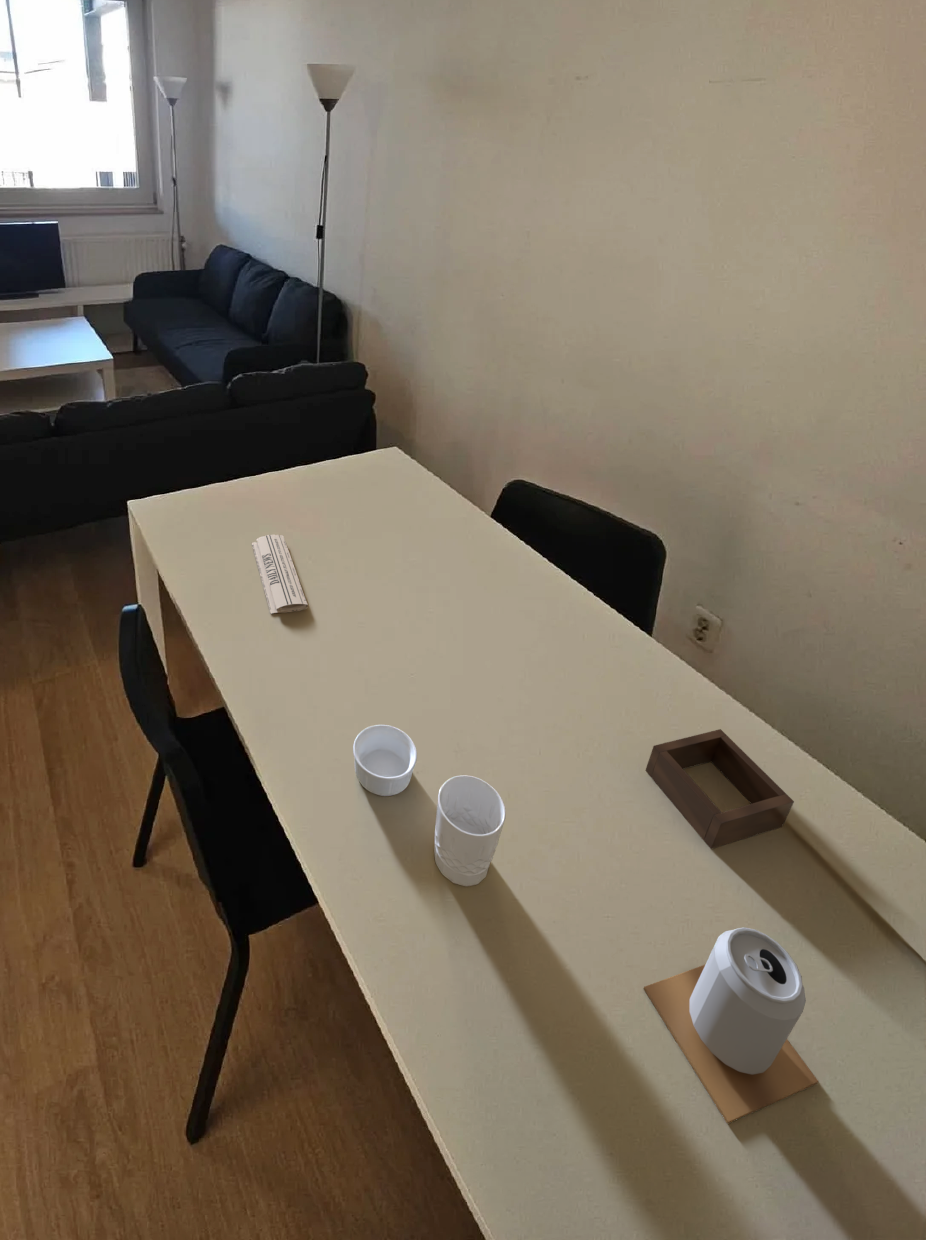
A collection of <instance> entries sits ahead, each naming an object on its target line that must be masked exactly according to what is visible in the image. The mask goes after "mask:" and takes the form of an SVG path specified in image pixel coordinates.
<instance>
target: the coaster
mask: <svg viewBox="0 0 926 1240" xmlns="http://www.w3.org/2000/svg"><path fill="white" fill-rule="evenodd" d="M705 965H706V963H705V964H702V965H700V966H697V967H695V968H691V969H689V970H686V971H683V972H680V973H678V974H675V975H672V976H670V977H667V978H665V979H662V980H659V981H656V982H654V983H651V984H648V985H645V986H643V988H642V989H643V991H644V993H645V994H646V996H647V997H648V998H649V1000H650V1002H651V1004H652V1005H653V1007H654V1008H655V1011H657V1013H658V1015H659V1016H660V1018H661V1020H662V1021H663V1023H664V1025H665V1026H666V1028H667V1029H668V1031H669V1033H670V1034H671V1036H672V1037H673V1039H674V1040H675V1042H676V1044H677V1046H678V1047H679V1048H680V1050H681V1052H682V1054H683V1055H684V1056H685V1058H686V1060H687V1062H688V1063H689V1065H690V1067H691V1068H692V1070H693V1072H694V1073H695V1074H696V1076H697V1077H698V1079H699V1081H700V1082H701V1084H702V1087H704V1089H705V1090H706V1093H707V1094H708V1095H709V1097H710V1099H711V1100H712V1101H713V1103H714V1105H715V1104H716V1105H715V1107H716V1108H717V1109H718V1112H719V1113H720V1115H721V1116H722V1115H723V1116H722V1118H723V1117H724V1118H723V1119H724V1121H725V1122H726V1121H727V1122H726V1124H727V1123H729V1124H731V1123H732V1122H731V1121H733V1122H735V1121H737V1120H736V1119H738V1120H740V1119H742V1118H744V1117H746V1116H749V1115H751V1114H754V1113H755V1112H758V1111H759V1110H762V1109H764V1108H767V1107H768V1106H771V1105H773V1104H775V1103H778V1102H779V1101H782V1100H784V1099H786V1098H788V1097H790V1096H793V1095H795V1094H797V1093H800V1092H802V1091H804V1090H807V1089H808V1088H811V1087H813V1086H815V1085H817V1084H819V1080H818V1079H817V1077H816V1076H815V1074H814V1073H813V1072H812V1071H811V1069H810V1068H809V1067H808V1065H807V1064H806V1062H805V1061H804V1060H803V1058H802V1057H801V1056H800V1054H799V1053H798V1052H797V1050H796V1049H795V1048H794V1047H793V1045H792V1044H791V1043H790V1041H789V1040H788V1038H787V1039H786V1041H785V1043H784V1044H783V1046H782V1048H781V1049H780V1051H779V1053H778V1054H777V1056H776V1058H775V1059H774V1061H773V1063H772V1064H771V1066H770V1067H769V1068H768V1069H767V1070H766V1071H764V1072H763V1073H758V1074H753V1075H752V1074H747V1073H743V1072H739V1071H737V1070H735V1069H733V1068H731V1067H730V1066H728V1065H726V1064H724V1063H723V1062H722V1061H721V1060H720V1059H719V1058H717V1057H716V1056H715V1055H714V1054H713V1053H712V1052H711V1051H710V1050H709V1048H708V1047H707V1046H706V1045H705V1044H704V1042H703V1041H702V1040H701V1038H700V1036H699V1034H698V1033H697V1031H696V1029H695V1027H694V1025H693V1022H692V1018H691V1015H690V997H691V995H692V993H693V990H694V988H695V986H696V984H697V982H698V980H699V977H700V975H701V973H702V971H703V969H704V967H705ZM748 1114H749V1115H748ZM745 1115H746V1116H745ZM743 1116H744V1117H743ZM741 1117H742V1118H741ZM739 1118H740V1119H739ZM734 1120H735V1121H734ZM730 1122H731V1123H730Z"/></svg>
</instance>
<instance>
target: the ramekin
mask: <svg viewBox="0 0 926 1240" xmlns="http://www.w3.org/2000/svg"><path fill="white" fill-rule="evenodd" d="M352 752H353V758H354V772H355V775H356V778H357V780H358V781H359V784H360V785H361V786H362V787H363V788H364V789H365V790H366V791H368V792H370V793H371V794H374V795H377V796H382V797H390V796H395V795H398V794H401V793H402V792H404V791H405V789H407V787H408V786H409V784H410V782H411V779H412V776H413V772H414V769H415V767H416V764H417V761H418V750H417V748H416V744H415V742H414V740H413V739H412V738H411V737H410V736H409V735H408V734H407V732H405V731H403V730H402V729H400V728H398V727H395V726H393V725H388V724H375V725H374V724H373V725H370V726H367V727H366V728H364V729H362V730H361V731H360V732H359V733H358V734H357V736H356V737H355V739H354V742H353V745H352Z"/></svg>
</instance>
